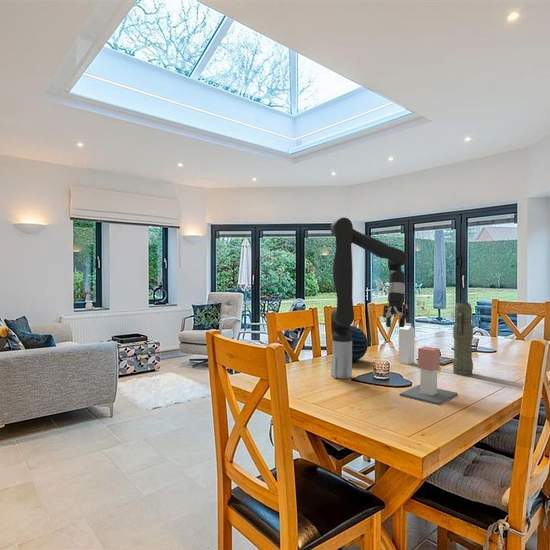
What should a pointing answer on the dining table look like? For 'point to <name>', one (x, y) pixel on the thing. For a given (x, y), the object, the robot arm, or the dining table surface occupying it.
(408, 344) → the milk
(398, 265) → the robot arm
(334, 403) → the dining table surface
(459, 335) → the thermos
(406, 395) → the square base with post
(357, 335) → the decorative sphere
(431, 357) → the cap
